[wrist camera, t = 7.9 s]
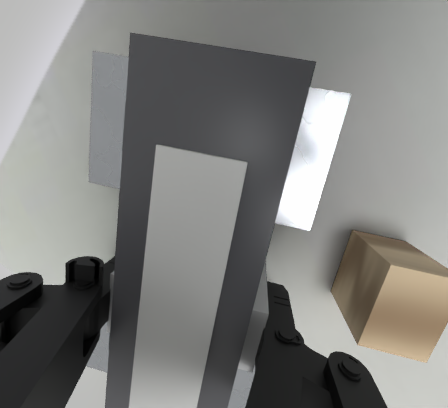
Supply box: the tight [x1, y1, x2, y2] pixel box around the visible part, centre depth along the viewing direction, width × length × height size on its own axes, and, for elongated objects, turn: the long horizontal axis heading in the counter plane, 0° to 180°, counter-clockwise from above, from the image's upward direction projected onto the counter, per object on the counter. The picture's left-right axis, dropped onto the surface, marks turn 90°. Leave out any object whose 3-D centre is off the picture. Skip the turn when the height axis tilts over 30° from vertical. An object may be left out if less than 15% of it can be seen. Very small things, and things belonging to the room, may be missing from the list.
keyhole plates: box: [86, 51, 351, 408], centre depth 16 cm, size 19×12×5 cm, turn 170°
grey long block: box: [105, 33, 316, 408], centre depth 12 cm, size 18×4×8 cm, turn 170°
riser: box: [331, 230, 448, 363], centre depth 15 cm, size 5×4×5 cm
